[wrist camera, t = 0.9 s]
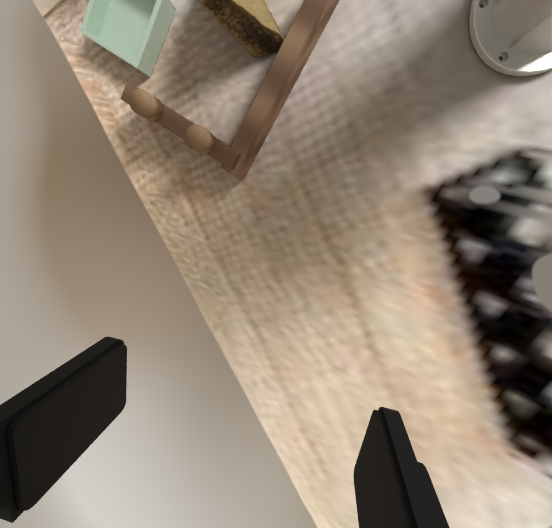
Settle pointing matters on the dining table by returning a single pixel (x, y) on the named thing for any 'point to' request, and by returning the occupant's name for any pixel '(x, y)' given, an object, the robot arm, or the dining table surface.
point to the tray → (129, 29)
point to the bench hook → (265, 105)
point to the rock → (248, 24)
